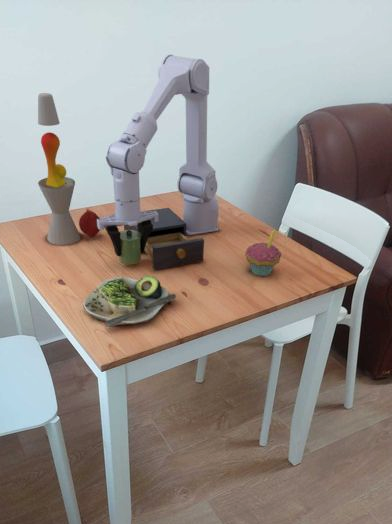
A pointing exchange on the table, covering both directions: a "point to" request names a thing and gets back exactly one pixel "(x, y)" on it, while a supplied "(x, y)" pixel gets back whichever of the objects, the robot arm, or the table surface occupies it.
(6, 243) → the table surface
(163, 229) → the cabinet
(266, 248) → the cupcake
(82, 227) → the onion
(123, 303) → the avocado toast plate
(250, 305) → the table surface
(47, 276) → the table surface
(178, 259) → the drawer
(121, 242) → the pot
